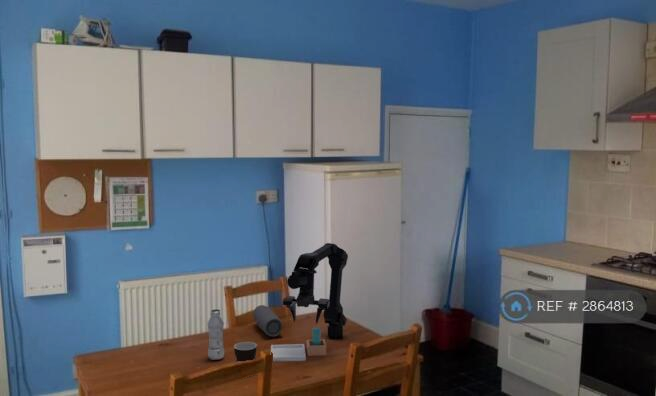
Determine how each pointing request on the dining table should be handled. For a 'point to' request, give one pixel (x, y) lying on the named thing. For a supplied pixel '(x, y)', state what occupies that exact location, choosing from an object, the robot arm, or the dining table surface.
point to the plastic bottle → (215, 336)
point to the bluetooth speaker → (267, 320)
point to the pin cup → (316, 348)
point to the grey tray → (288, 352)
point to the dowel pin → (316, 336)
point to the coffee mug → (245, 351)
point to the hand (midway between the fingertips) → (305, 322)
